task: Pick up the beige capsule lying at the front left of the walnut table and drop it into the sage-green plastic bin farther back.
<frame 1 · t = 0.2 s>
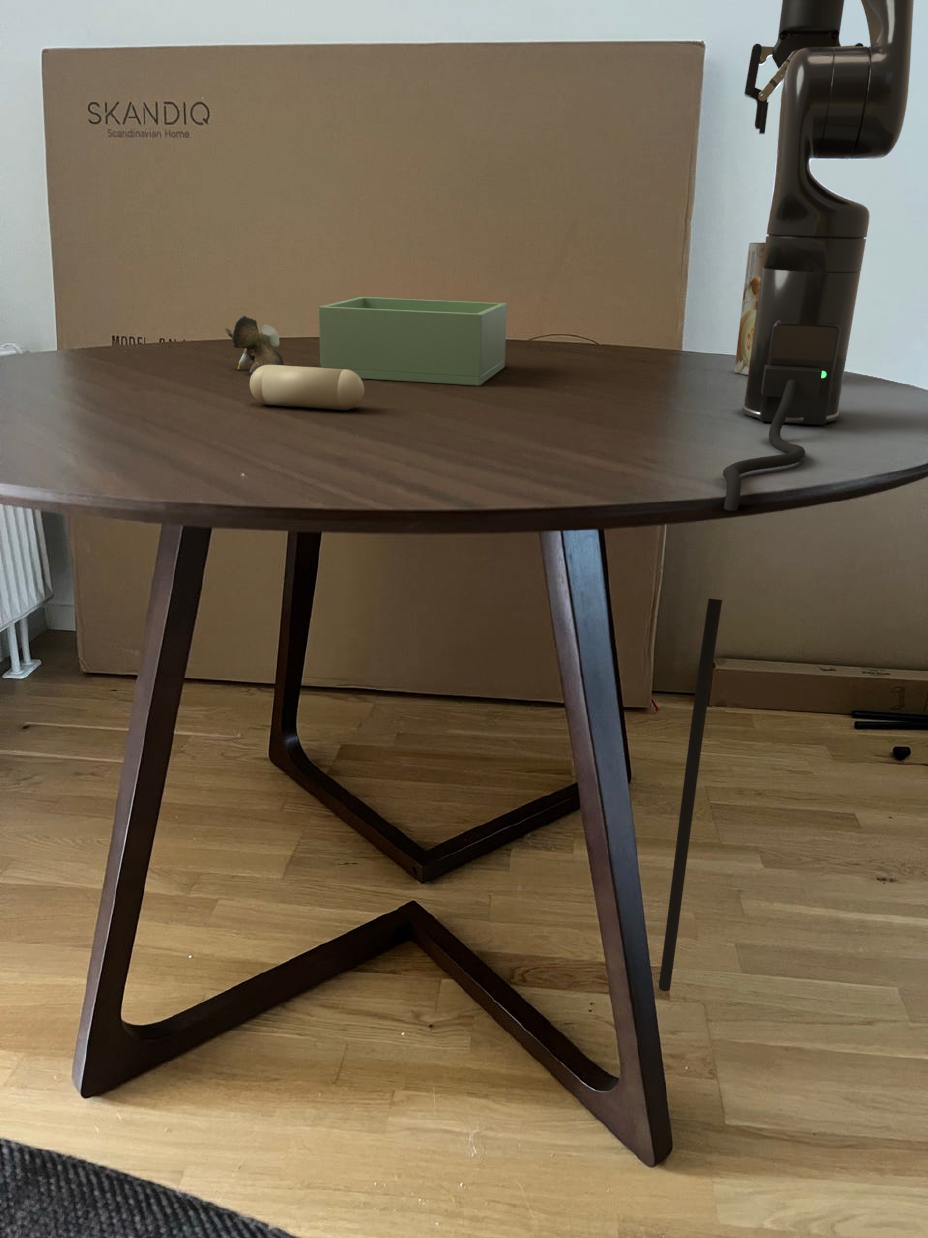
hand: (795, 134, 131), 29 cm above the table, tool pointing down, fingers open, 8 cm apart
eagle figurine: (255, 371, 123), on the table
coffee box: (773, 377, 128), on the table
bin: (416, 371, 125), on the table
beige capsule: (307, 407, 101), on the table
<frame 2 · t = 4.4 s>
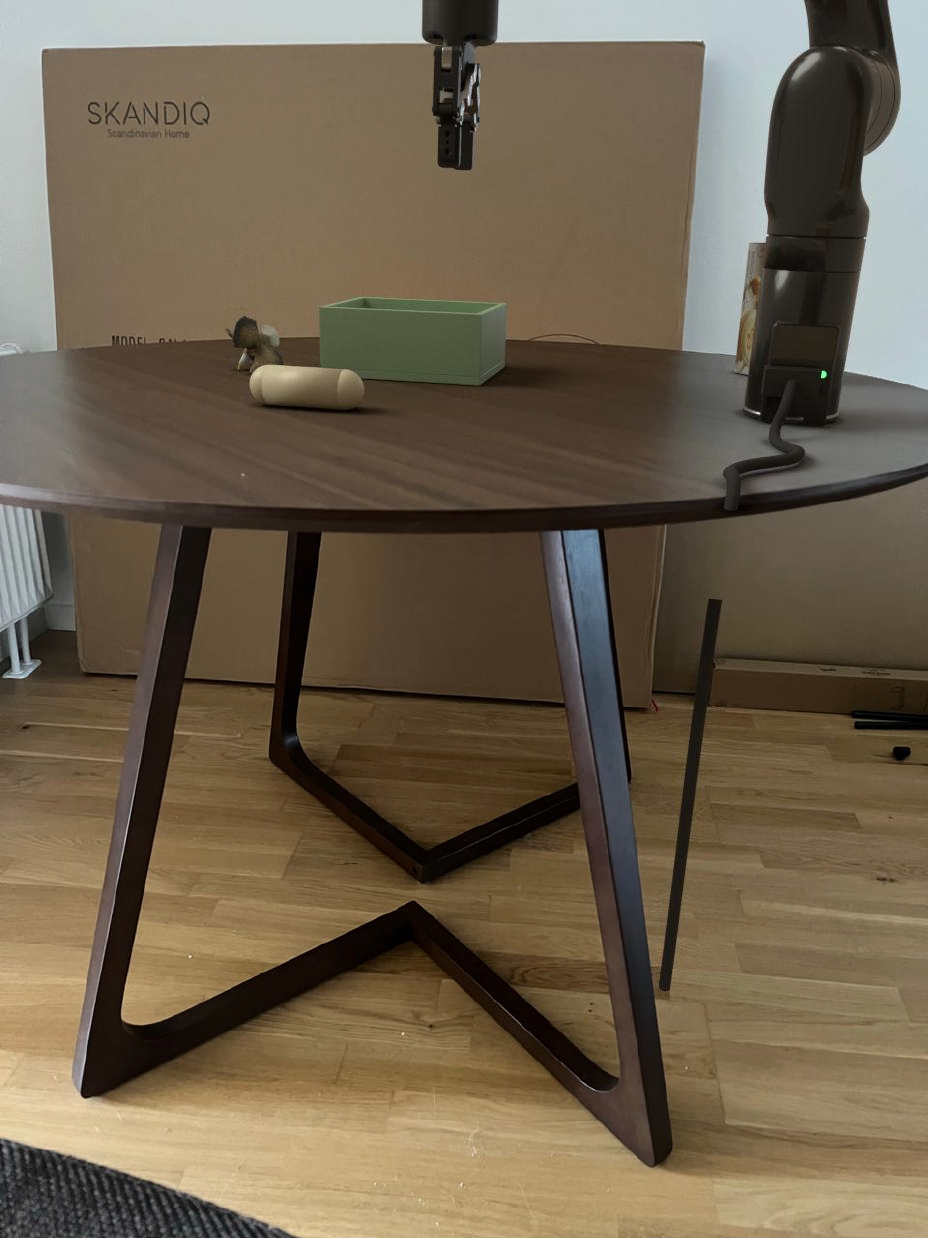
hand: (455, 168, 103), 23 cm above the table, tool pointing down, fingers open, 8 cm apart
nothing on the table moved.
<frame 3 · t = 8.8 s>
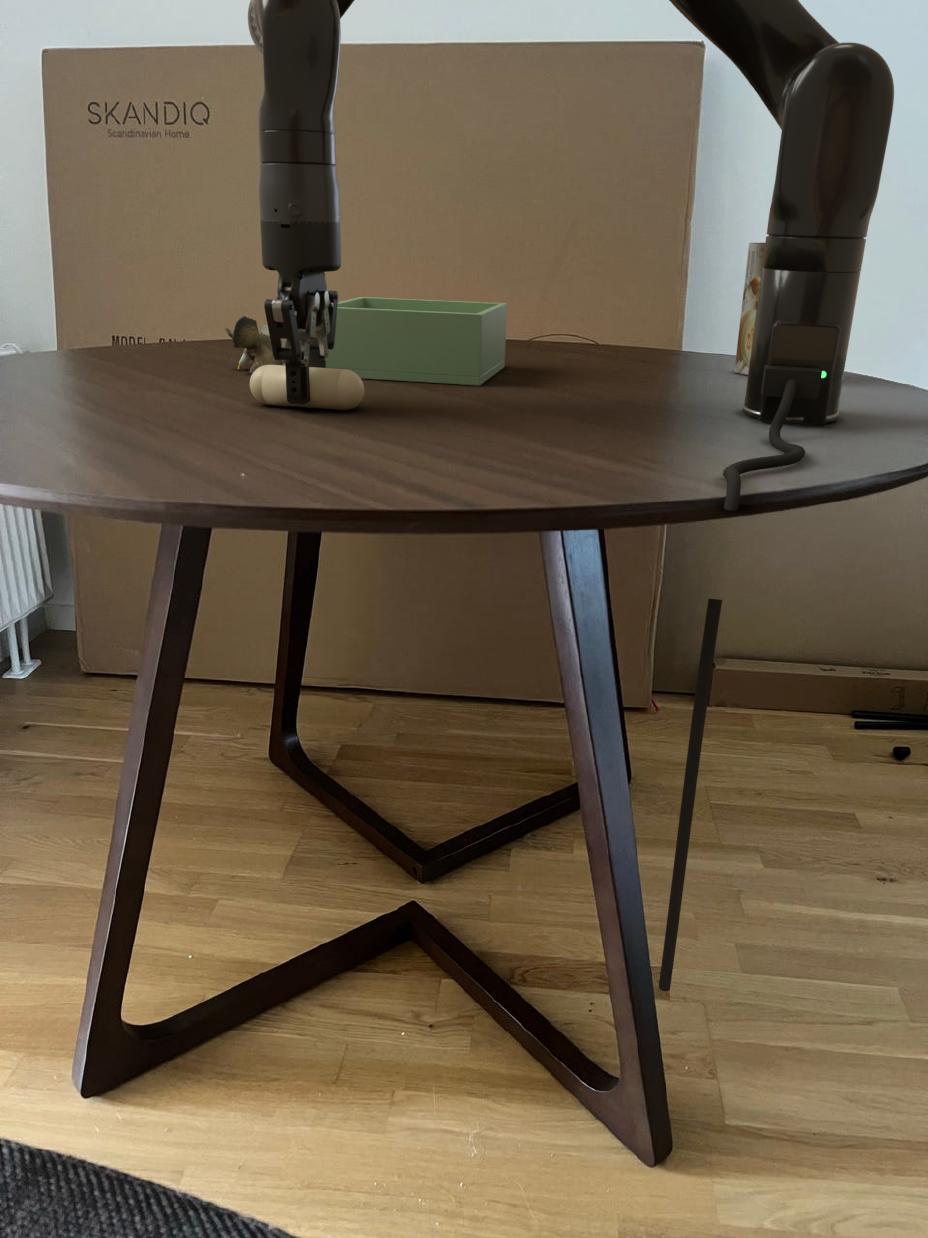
hand: (307, 398, 101), 1 cm above the table, tool pointing down, fingers closed on beige capsule, 4 cm apart
beige capsule: (307, 407, 101), on the table, touching gripper
everything else where it was.
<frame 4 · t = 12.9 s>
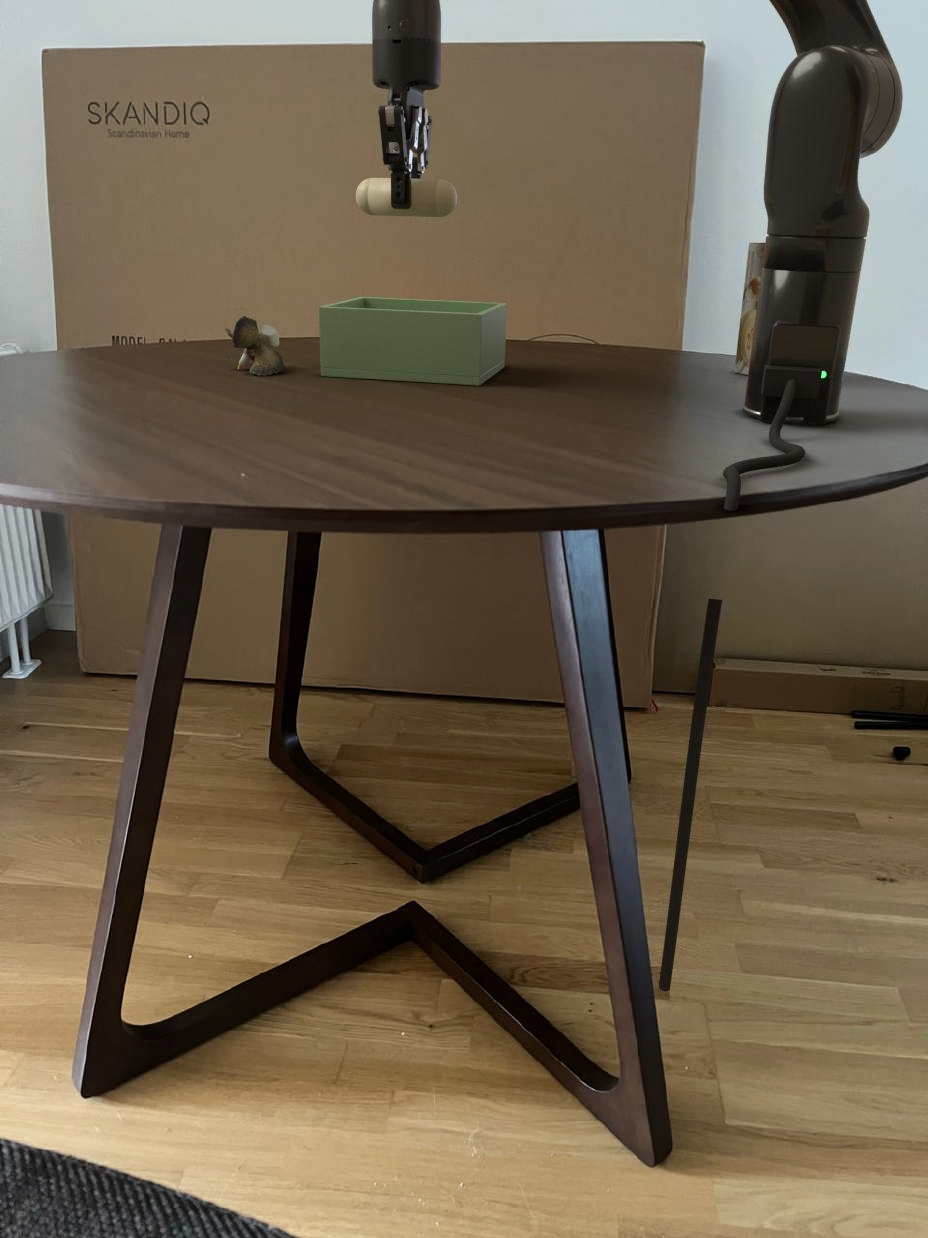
hand: (406, 207, 115), 19 cm above the table, tool pointing down, fingers closed on beige capsule, 4 cm apart
beige capsule: (406, 215, 115), point 18 cm above the table, touching gripper
everything else where it was.
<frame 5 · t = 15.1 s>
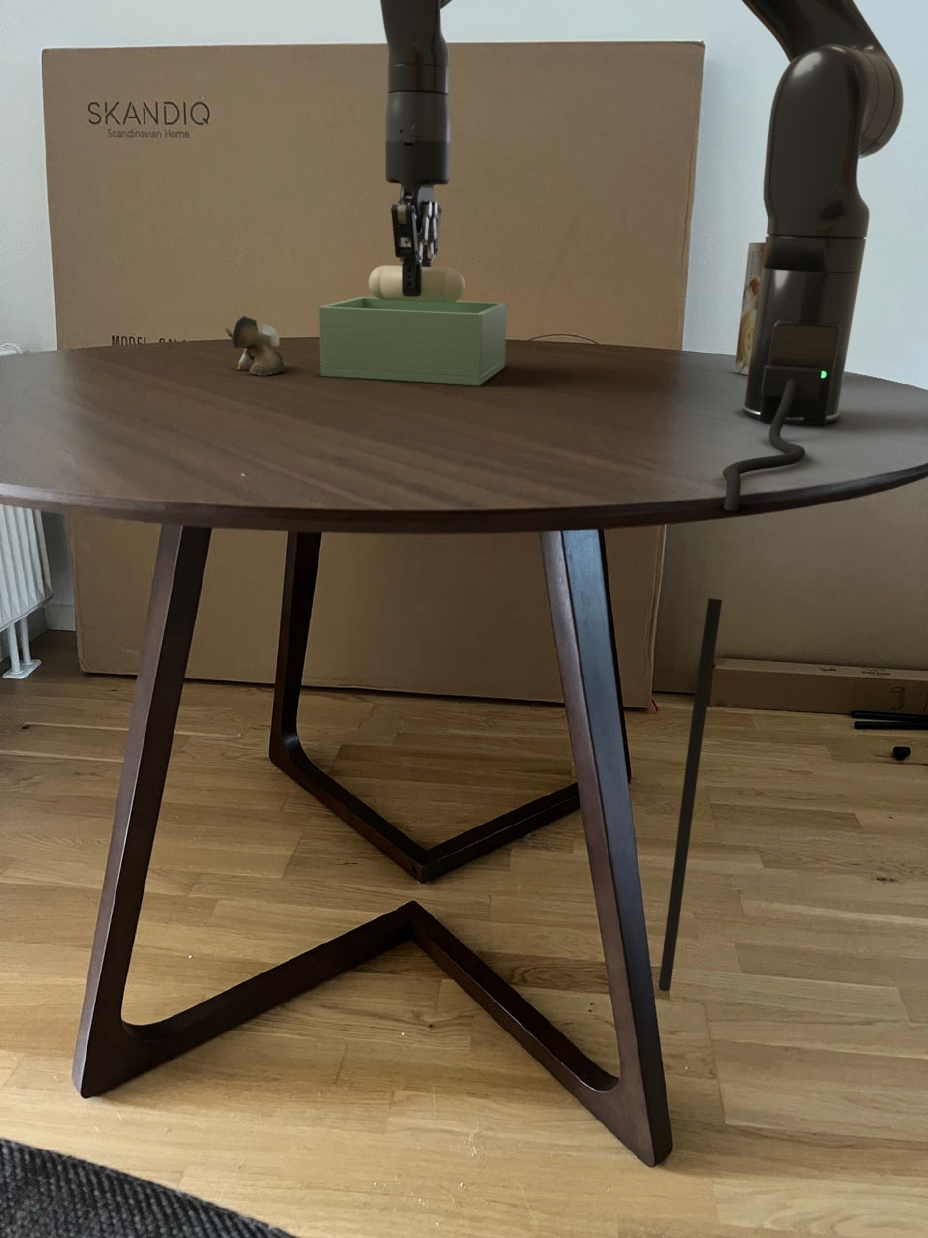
hand: (416, 293, 121), 9 cm above the table, tool pointing down, fingers closed on beige capsule, 4 cm apart
beige capsule: (416, 301, 121), point 8 cm above the table, touching gripper
everything else where it was.
when the fingers open (4 cm above the table, at t = 17.0 s): beige capsule drops 2 cm, resting on bin.
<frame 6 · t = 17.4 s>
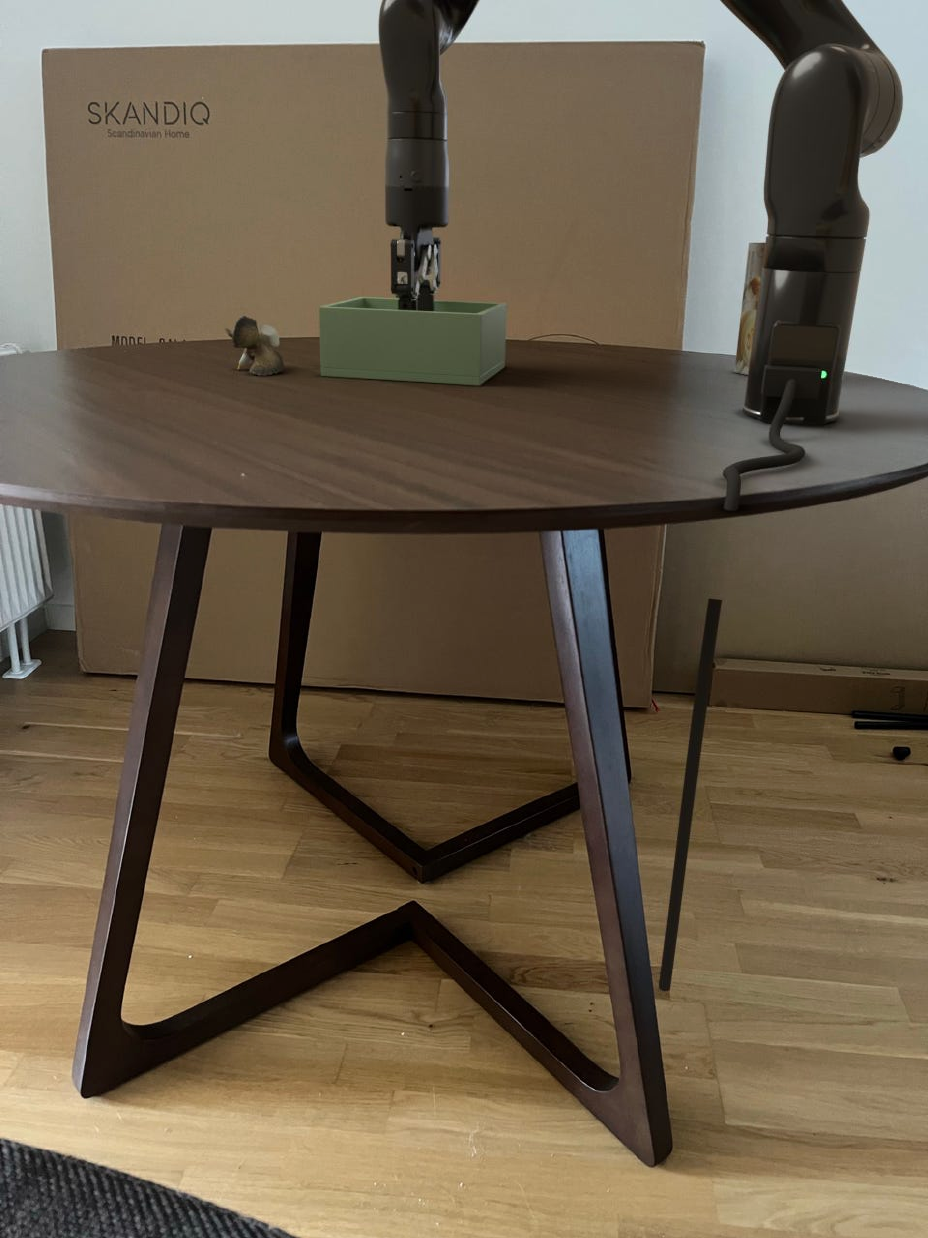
hand: (416, 328, 122), 5 cm above the table, tool pointing down, fingers open, 7 cm apart
beige capsule: (416, 363, 124), point 1 cm above the table, touching bin
everything else where it was.
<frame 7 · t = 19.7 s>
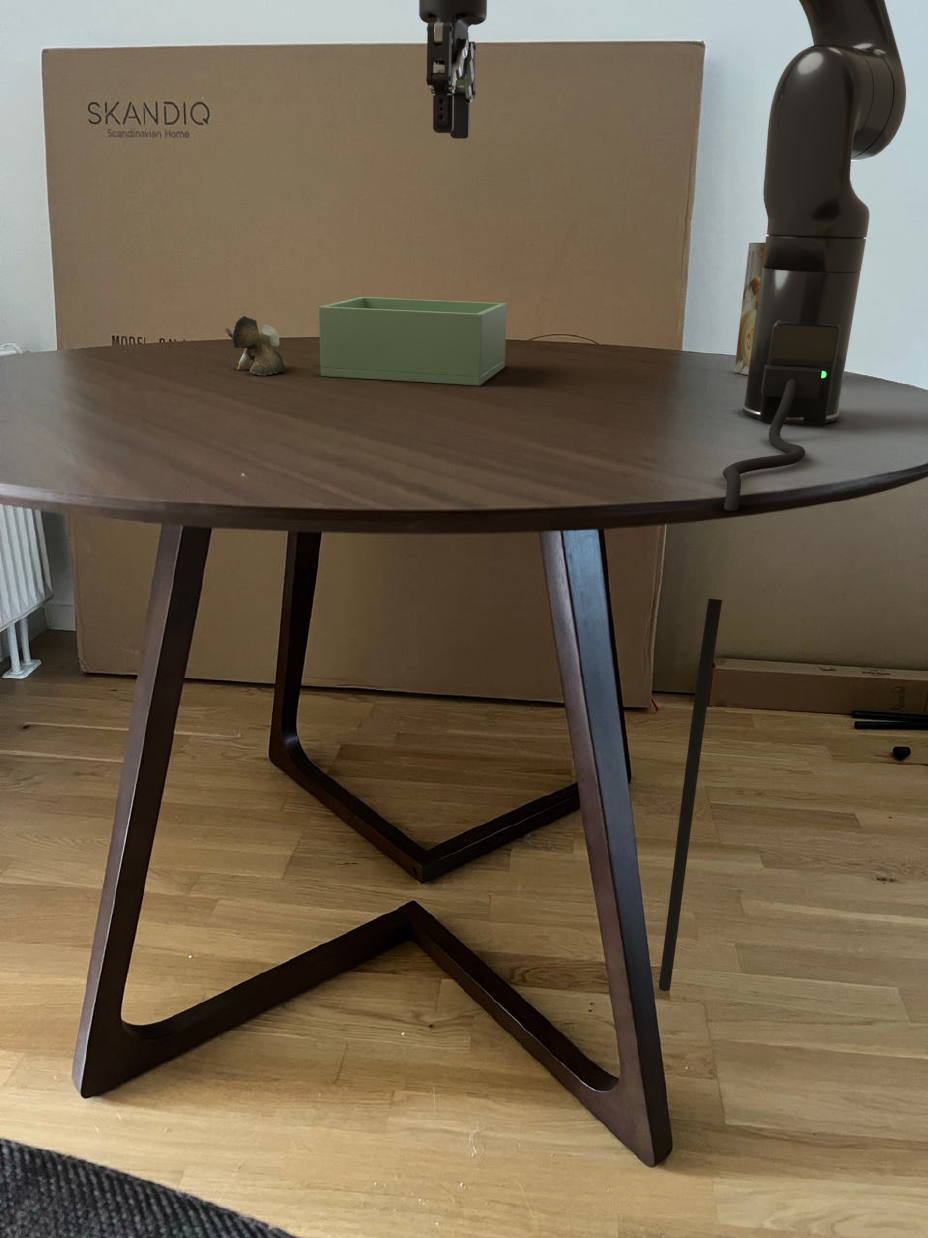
hand: (451, 135, 115), 27 cm above the table, tool pointing down, fingers open, 8 cm apart
nothing on the table moved.
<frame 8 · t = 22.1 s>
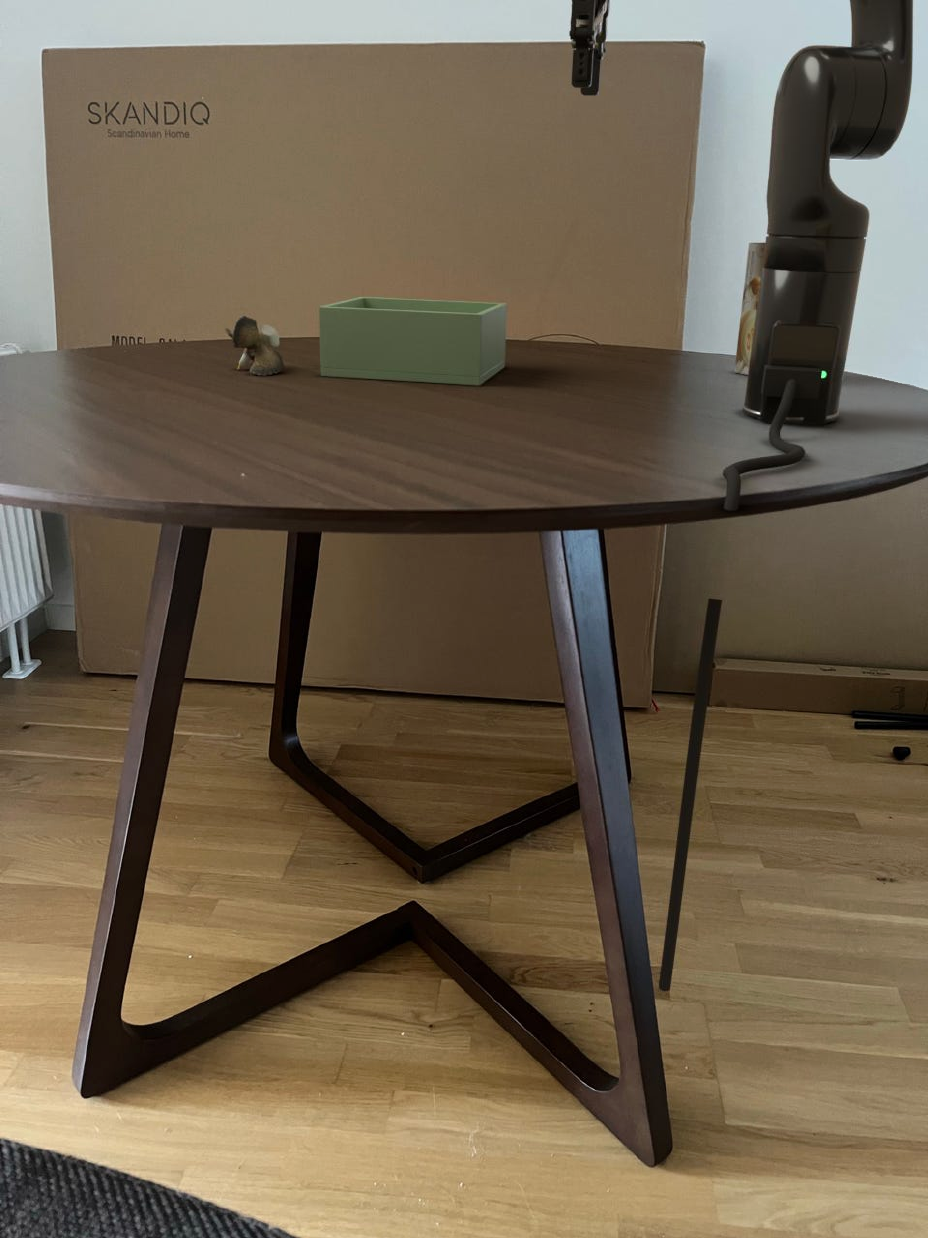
hand: (585, 91, 117), 32 cm above the table, tool pointing down, fingers open, 8 cm apart
nothing on the table moved.
at the end: beige capsule inside the target area in the bin (0.0 cm from its centre), point 1.0 cm above the bin's base; the gripper is holding nothing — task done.
